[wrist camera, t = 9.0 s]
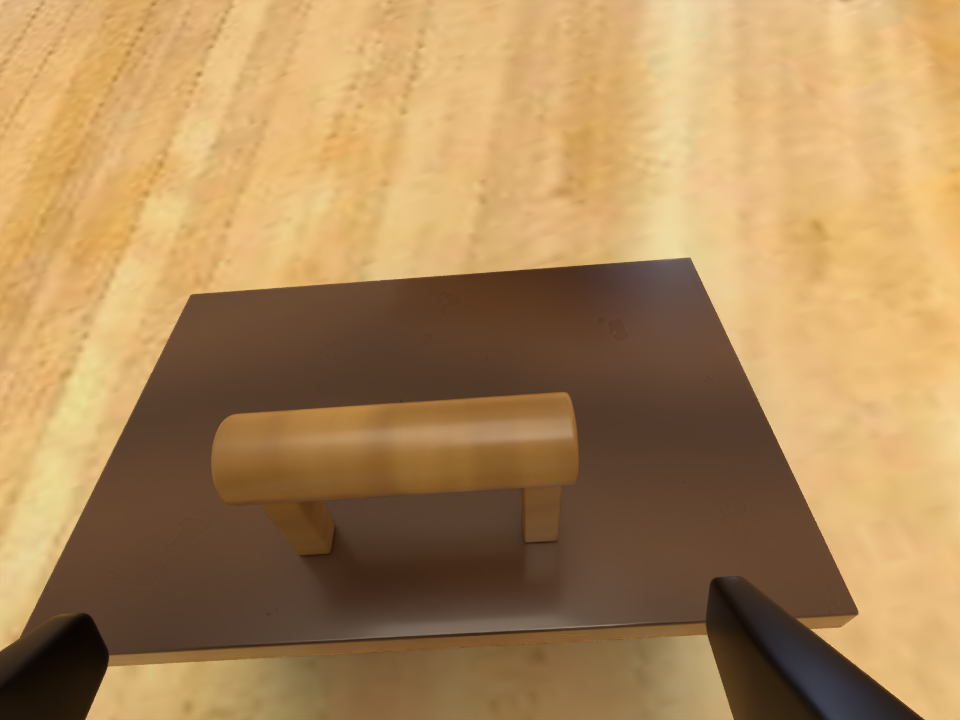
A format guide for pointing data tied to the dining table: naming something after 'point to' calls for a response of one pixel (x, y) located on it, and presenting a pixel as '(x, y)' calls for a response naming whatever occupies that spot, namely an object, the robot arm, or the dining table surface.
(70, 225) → the dining table surface
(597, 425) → the brown box lid
